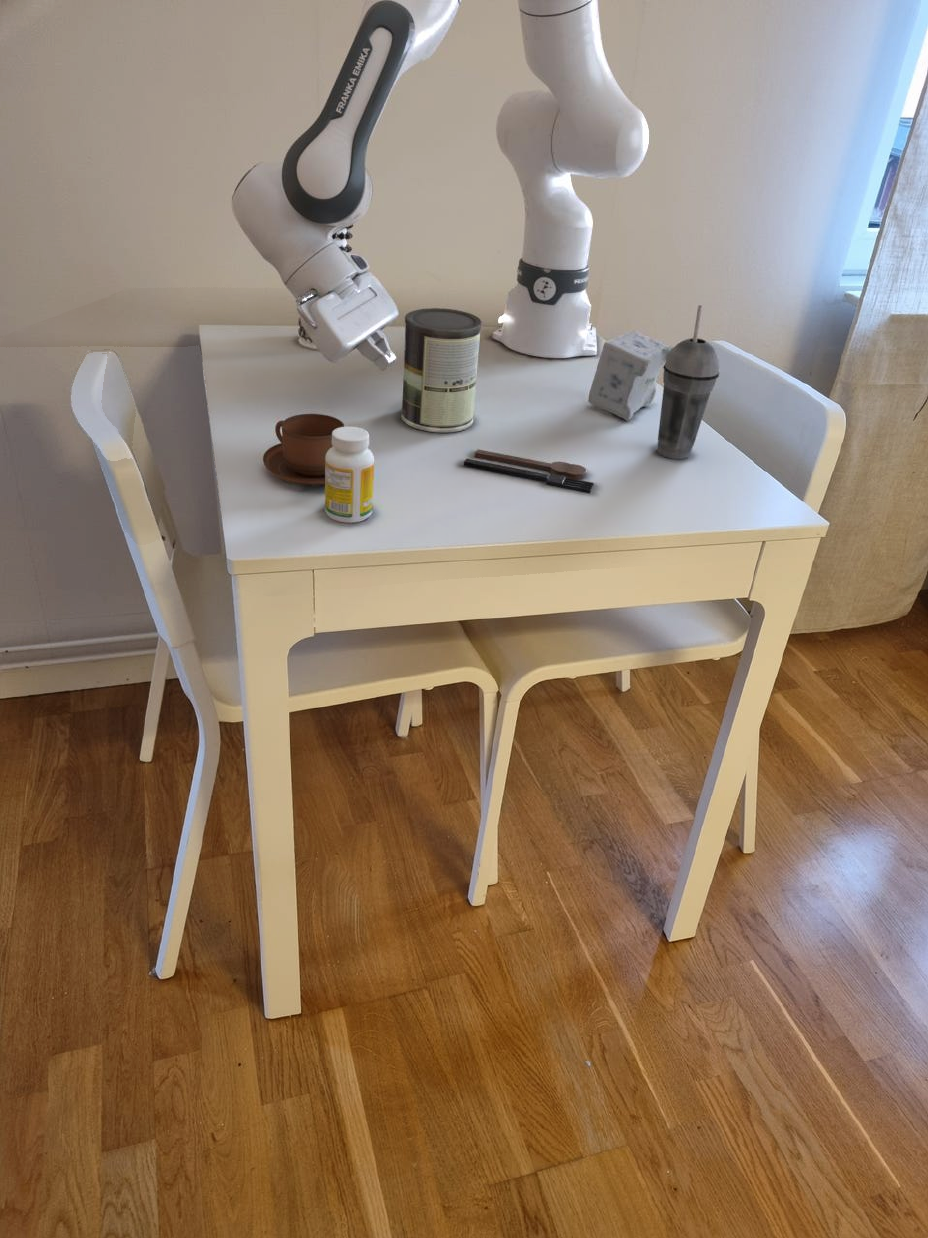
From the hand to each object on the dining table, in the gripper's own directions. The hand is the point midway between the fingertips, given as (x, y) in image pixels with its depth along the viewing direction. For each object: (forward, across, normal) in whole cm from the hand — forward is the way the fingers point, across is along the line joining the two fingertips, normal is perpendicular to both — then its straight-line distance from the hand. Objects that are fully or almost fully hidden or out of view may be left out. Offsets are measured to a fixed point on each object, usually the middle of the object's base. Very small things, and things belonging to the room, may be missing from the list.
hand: (389, 365), depth 130 cm
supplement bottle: (+10, -32, -1) cm, 34 cm away
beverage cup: (+33, +4, -24) cm, 41 cm away
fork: (+21, -13, -12) cm, 28 cm away
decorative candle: (-10, +24, +19) cm, 32 cm away
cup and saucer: (+4, -24, +5) cm, 25 cm away
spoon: (+21, -10, -12) cm, 26 cm away
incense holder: (+27, +18, -18) cm, 37 cm away
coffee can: (+10, 0, 0) cm, 10 cm away
